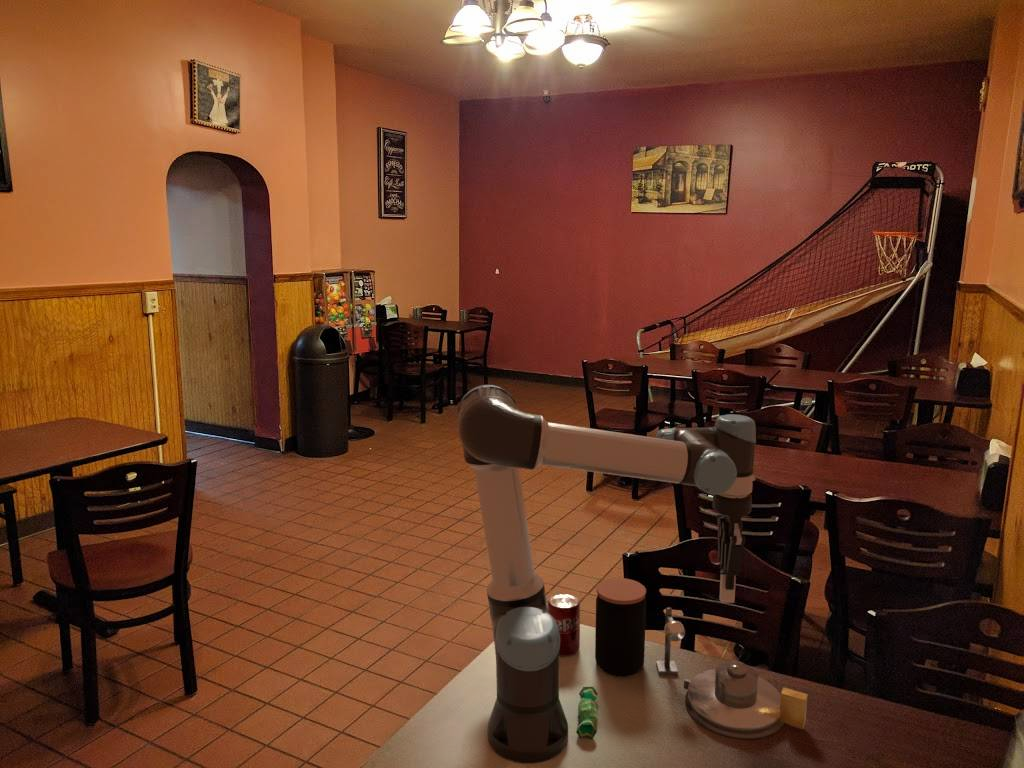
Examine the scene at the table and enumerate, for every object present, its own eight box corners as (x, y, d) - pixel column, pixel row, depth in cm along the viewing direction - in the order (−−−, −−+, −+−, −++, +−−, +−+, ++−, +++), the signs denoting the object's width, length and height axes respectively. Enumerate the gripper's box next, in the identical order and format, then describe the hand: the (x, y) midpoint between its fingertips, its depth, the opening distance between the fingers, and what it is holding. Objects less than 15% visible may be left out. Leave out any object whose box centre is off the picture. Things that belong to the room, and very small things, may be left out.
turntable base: (696, 739, 138) (696, 736, 138) (676, 679, 157) (677, 677, 156) (799, 740, 137) (799, 737, 137) (767, 680, 156) (767, 677, 156)
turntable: (698, 732, 138) (699, 704, 137) (679, 676, 156) (680, 650, 155) (812, 734, 138) (814, 705, 136) (780, 677, 155) (782, 651, 154)
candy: (600, 736, 138) (588, 719, 138) (584, 744, 139) (572, 727, 138) (601, 698, 150) (589, 682, 149) (586, 705, 150) (575, 689, 150)
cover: (719, 708, 142) (720, 677, 141) (710, 683, 150) (712, 654, 149) (761, 709, 142) (763, 678, 141) (750, 684, 150) (752, 654, 148)
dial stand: (663, 689, 153) (665, 623, 150) (656, 664, 162) (658, 601, 159) (682, 689, 153) (685, 623, 150) (674, 664, 162) (676, 601, 159)
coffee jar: (642, 652, 167) (644, 578, 163) (645, 680, 157) (648, 601, 153) (594, 650, 168) (595, 576, 165) (595, 677, 158) (596, 599, 154)
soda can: (545, 641, 172) (545, 594, 169) (576, 639, 172) (576, 592, 170) (550, 659, 165) (550, 609, 162) (582, 657, 165) (583, 607, 163)
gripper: (761, 503, 141) (754, 617, 146) (742, 481, 154) (736, 586, 159) (721, 503, 141) (716, 616, 146) (706, 481, 154) (701, 586, 159)
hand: (726, 600), depth 152 cm, fingers closed
